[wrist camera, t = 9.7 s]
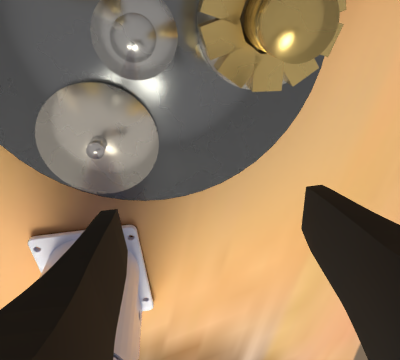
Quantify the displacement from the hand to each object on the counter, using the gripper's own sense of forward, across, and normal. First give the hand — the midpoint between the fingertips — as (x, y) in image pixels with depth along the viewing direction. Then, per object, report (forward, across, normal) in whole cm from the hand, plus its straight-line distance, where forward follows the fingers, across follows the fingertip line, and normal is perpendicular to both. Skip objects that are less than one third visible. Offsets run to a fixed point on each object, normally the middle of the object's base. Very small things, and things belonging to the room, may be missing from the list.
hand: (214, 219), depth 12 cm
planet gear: (+8, -4, -6) cm, 11 cm away
